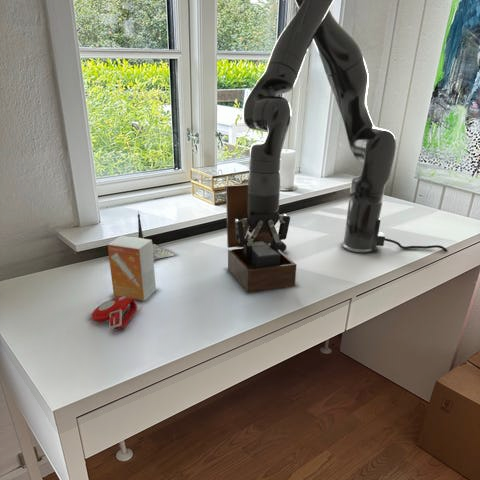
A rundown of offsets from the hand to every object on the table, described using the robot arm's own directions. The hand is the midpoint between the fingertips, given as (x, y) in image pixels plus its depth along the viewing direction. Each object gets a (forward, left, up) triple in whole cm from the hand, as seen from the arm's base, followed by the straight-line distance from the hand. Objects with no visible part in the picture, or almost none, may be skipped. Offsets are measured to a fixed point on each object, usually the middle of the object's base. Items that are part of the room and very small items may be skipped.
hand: (260, 257), depth 118 cm
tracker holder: (+28, +28, -6) cm, 40 cm away
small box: (+28, +15, -6) cm, 32 cm away
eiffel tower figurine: (+34, -7, -6) cm, 35 cm away
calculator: (0, 0, -1) cm, 1 cm away
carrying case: (+3, -20, -6) cm, 21 cm away
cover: (+4, -6, +8) cm, 11 cm away
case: (0, 0, -6) cm, 6 cm away
